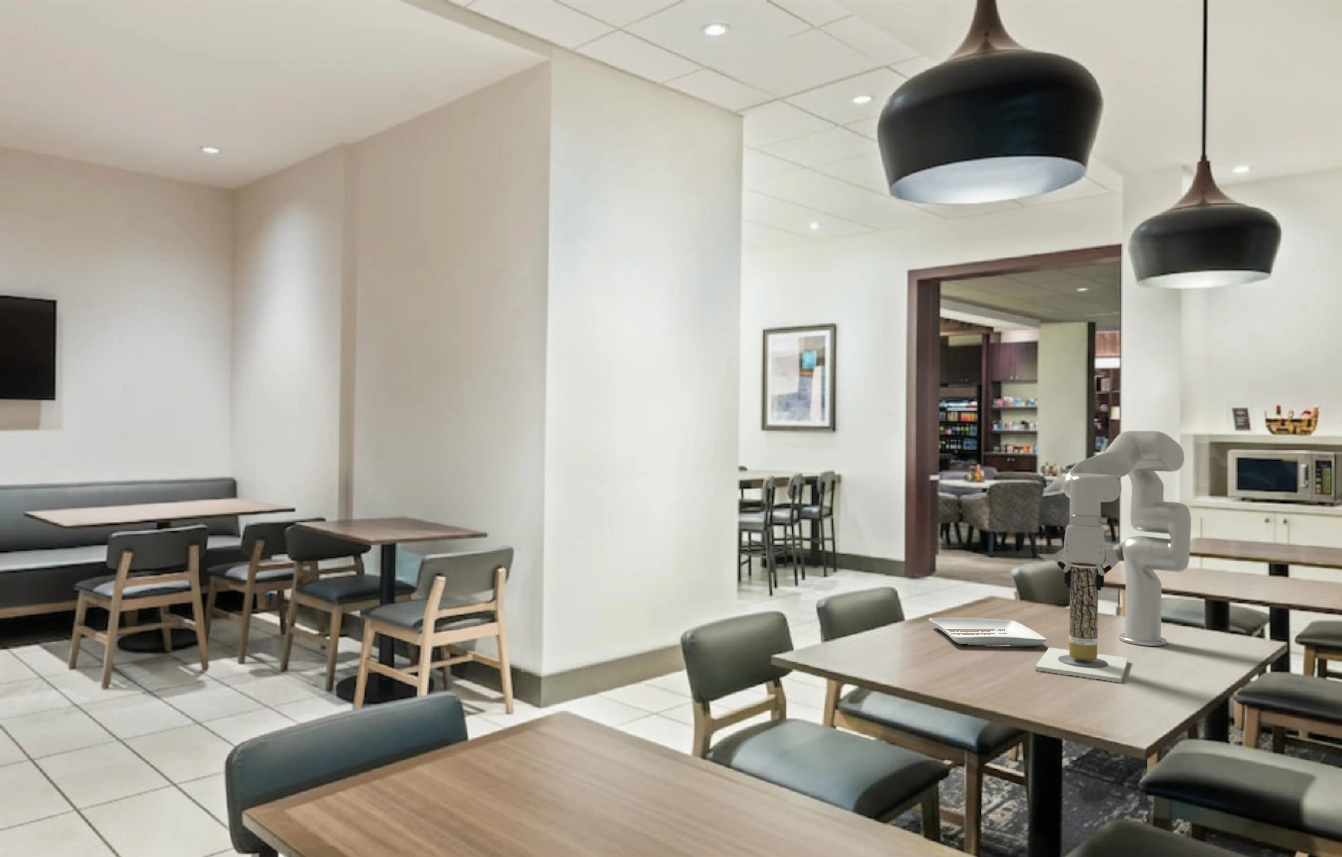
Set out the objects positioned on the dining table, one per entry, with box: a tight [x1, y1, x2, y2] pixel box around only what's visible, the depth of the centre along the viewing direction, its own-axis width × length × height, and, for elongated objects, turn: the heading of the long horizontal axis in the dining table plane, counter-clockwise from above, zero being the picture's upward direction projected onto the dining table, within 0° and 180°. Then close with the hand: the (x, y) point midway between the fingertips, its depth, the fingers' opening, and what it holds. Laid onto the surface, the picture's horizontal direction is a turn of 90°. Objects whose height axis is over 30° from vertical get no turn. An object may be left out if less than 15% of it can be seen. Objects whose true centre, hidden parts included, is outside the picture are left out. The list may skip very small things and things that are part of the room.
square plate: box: [928, 617, 1048, 647], centre depth 267 cm, size 27×27×4 cm
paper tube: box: [1068, 563, 1099, 660], centre depth 236 cm, size 7×7×25 cm
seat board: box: [1034, 647, 1129, 684], centre depth 236 cm, size 24×20×2 cm
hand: (1084, 587), depth 236 cm, fingers closed on paper tube, 6 cm apart
